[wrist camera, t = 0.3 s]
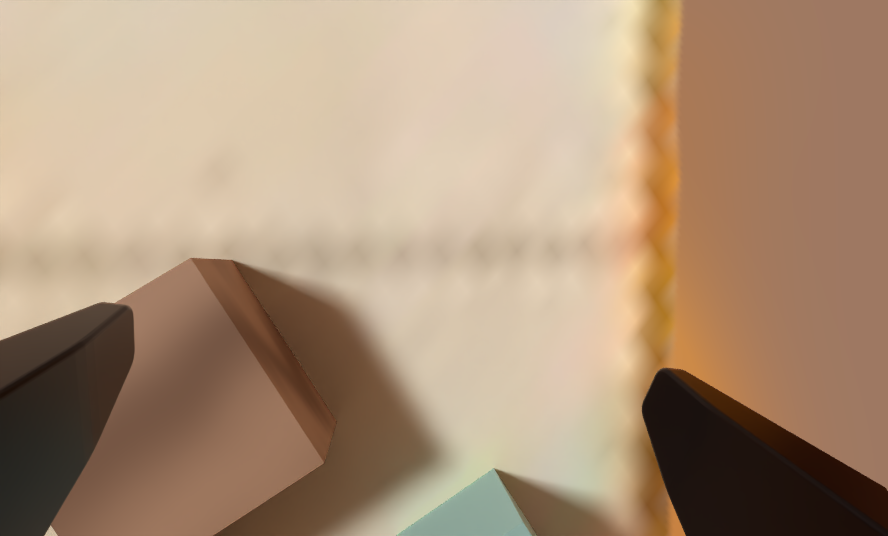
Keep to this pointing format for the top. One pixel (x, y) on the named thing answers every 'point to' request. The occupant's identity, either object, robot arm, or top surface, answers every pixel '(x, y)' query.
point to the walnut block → (199, 414)
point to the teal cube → (475, 513)
